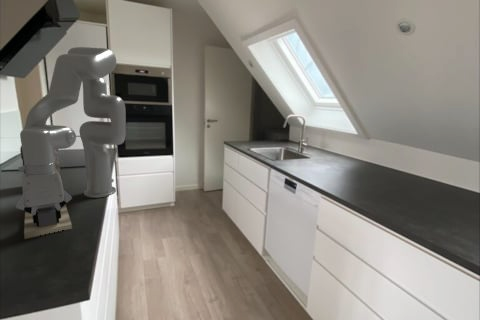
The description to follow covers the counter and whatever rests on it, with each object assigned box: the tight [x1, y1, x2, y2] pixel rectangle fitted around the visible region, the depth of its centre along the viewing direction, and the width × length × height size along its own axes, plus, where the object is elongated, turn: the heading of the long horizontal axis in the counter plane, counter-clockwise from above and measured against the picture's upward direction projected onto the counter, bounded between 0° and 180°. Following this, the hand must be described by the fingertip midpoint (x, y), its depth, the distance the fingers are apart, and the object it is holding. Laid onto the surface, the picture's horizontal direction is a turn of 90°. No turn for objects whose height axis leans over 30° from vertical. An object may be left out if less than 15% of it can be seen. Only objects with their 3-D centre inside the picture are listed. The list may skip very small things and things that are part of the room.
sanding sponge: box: [37, 204, 57, 230], centre depth 85 cm, size 8×4×5 cm, turn 37°
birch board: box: [23, 203, 73, 240], centre depth 92 cm, size 24×12×2 cm, turn 38°
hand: (48, 222), depth 86 cm, fingers closed on sanding sponge, 4 cm apart
